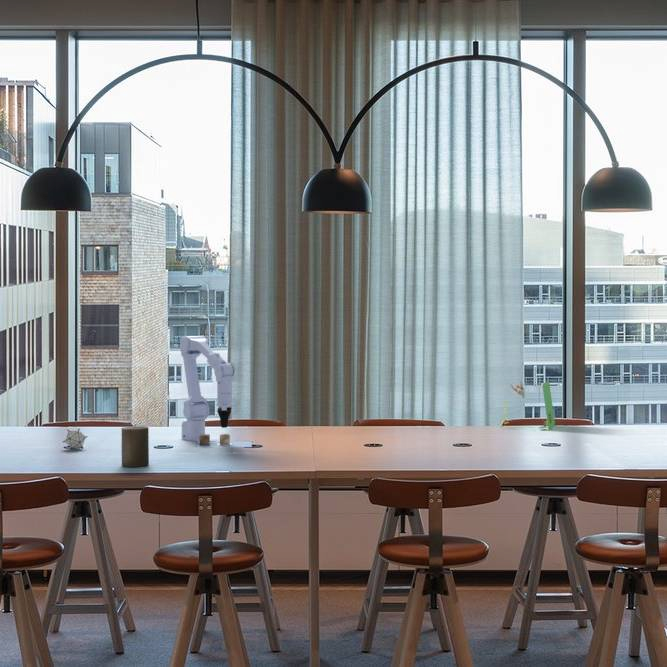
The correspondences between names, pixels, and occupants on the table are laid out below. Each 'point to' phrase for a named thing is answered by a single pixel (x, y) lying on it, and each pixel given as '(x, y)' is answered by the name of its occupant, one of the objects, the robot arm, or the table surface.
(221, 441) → the maple cube
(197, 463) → the table surface
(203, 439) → the walnut cube
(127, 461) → the pillar candle
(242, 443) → the board
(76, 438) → the beige spiky star ball
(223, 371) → the robot arm
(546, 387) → the toy game set
